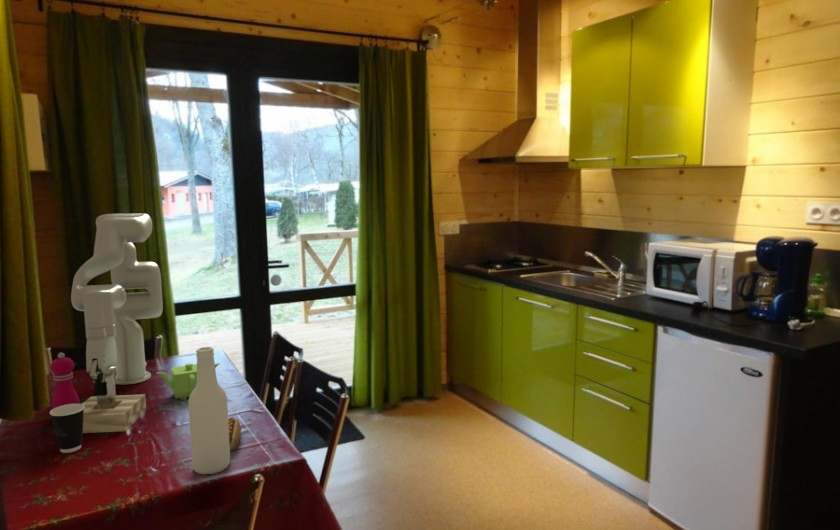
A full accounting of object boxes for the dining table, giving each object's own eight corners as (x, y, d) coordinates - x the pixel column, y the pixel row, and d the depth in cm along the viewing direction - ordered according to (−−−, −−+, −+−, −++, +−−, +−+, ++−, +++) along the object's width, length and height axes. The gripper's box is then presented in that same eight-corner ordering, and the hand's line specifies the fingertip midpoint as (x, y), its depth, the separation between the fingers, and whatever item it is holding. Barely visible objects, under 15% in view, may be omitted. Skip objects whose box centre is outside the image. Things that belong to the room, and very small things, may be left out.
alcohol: (225, 475, 138) (218, 353, 134) (187, 476, 137) (179, 354, 133) (234, 458, 147) (228, 343, 143) (198, 459, 146) (191, 344, 142)
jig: (92, 412, 178) (91, 396, 177) (146, 409, 179) (145, 394, 179) (66, 433, 162) (64, 416, 161) (125, 431, 164) (124, 414, 163)
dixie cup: (50, 457, 148) (46, 416, 146) (56, 445, 155) (52, 406, 153) (86, 452, 151) (82, 411, 149) (89, 440, 158) (86, 401, 156)
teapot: (157, 400, 187) (155, 369, 186) (182, 387, 200) (180, 357, 199) (200, 403, 184) (198, 371, 183) (222, 389, 197) (220, 359, 196)
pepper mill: (67, 422, 170) (61, 356, 167) (46, 420, 171) (40, 355, 169) (86, 413, 177) (80, 350, 174) (66, 411, 179) (60, 348, 176)
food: (221, 433, 162) (221, 416, 161) (242, 431, 163) (241, 414, 163) (217, 455, 149) (216, 436, 148) (239, 452, 150) (238, 434, 149)
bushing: (99, 397, 173) (96, 364, 171) (123, 396, 173) (120, 363, 172) (89, 405, 166) (86, 371, 165) (113, 404, 167) (110, 370, 165)
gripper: (100, 325, 175) (105, 383, 177) (72, 339, 158) (78, 403, 161) (126, 324, 176) (130, 382, 178) (101, 338, 159) (106, 401, 161)
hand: (105, 391), depth 169 cm, fingers closed on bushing, 5 cm apart
